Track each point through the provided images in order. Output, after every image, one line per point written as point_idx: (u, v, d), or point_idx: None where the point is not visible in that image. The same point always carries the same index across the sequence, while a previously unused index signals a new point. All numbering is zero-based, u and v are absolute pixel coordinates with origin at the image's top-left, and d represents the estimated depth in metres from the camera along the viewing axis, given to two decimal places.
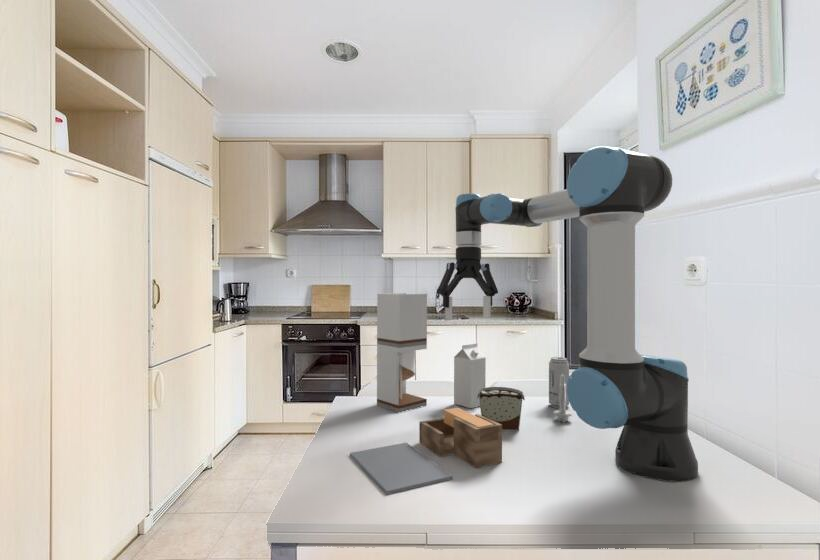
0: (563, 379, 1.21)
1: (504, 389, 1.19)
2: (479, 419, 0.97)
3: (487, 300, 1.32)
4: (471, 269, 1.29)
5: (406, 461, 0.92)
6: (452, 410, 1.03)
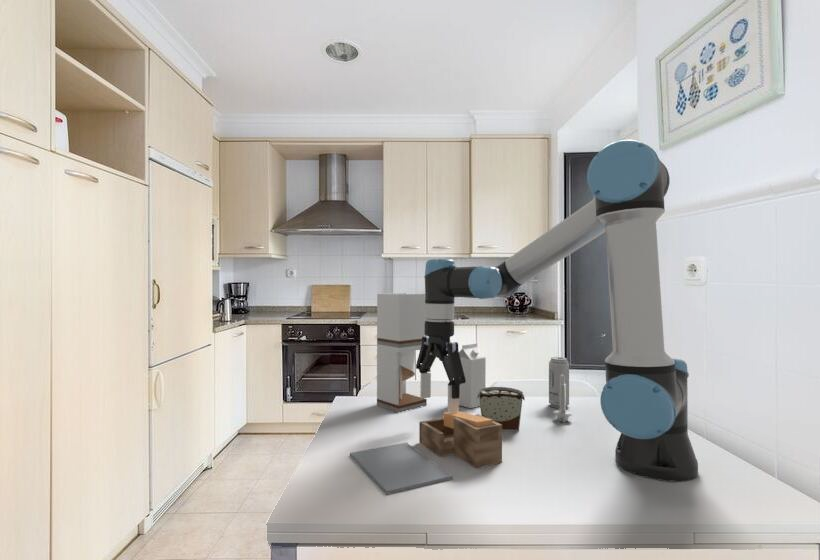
0: (563, 379, 1.21)
1: (504, 389, 1.19)
2: (478, 417, 0.97)
3: None
4: None
5: (406, 461, 0.92)
6: (451, 413, 1.04)
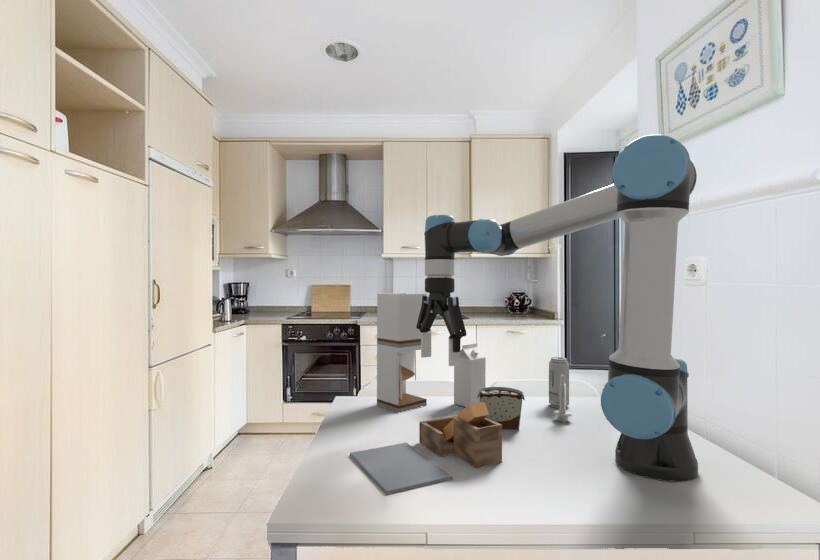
0: (563, 379, 1.21)
1: (504, 389, 1.19)
2: None
3: None
4: None
5: (406, 461, 0.92)
6: None
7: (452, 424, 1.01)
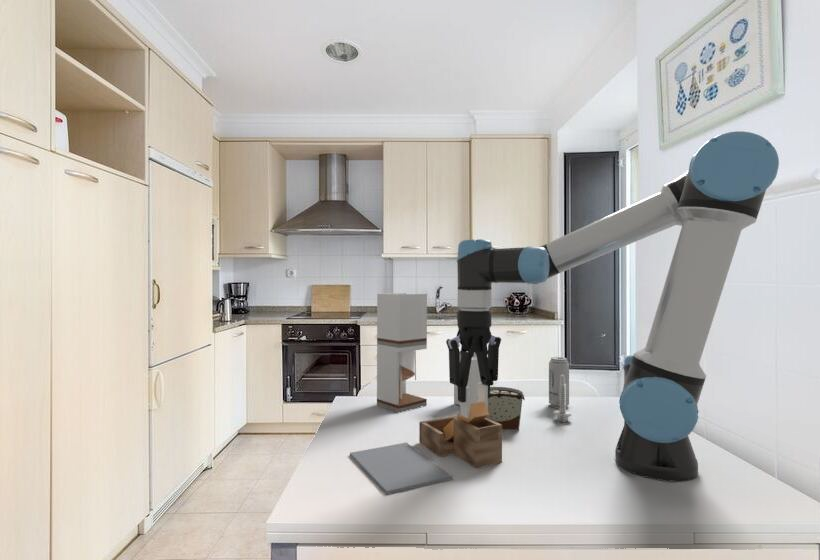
0: (563, 379, 1.21)
1: (504, 389, 1.19)
2: None
3: (483, 391, 0.97)
4: (478, 338, 0.96)
5: (406, 461, 0.92)
6: None
7: (452, 424, 1.01)
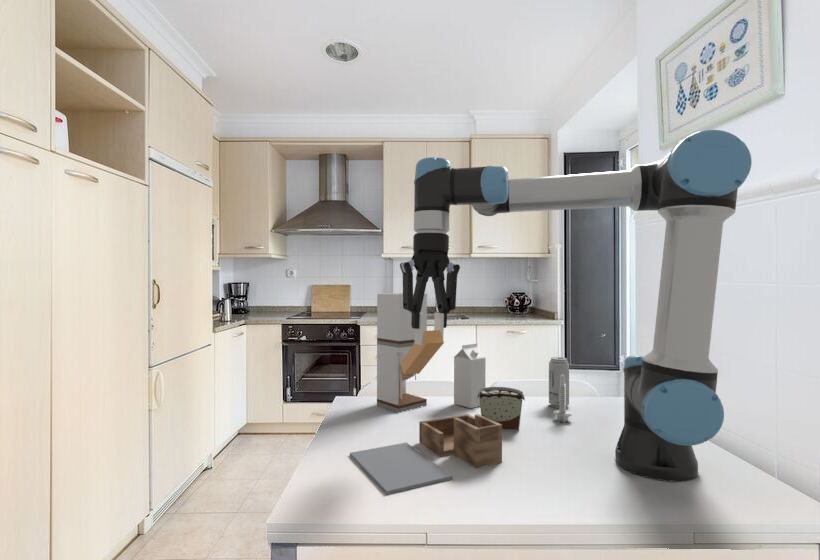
0: (563, 379, 1.21)
1: (504, 389, 1.19)
2: None
3: (439, 319, 0.92)
4: (434, 262, 0.91)
5: (406, 461, 0.92)
6: None
7: (408, 356, 0.96)
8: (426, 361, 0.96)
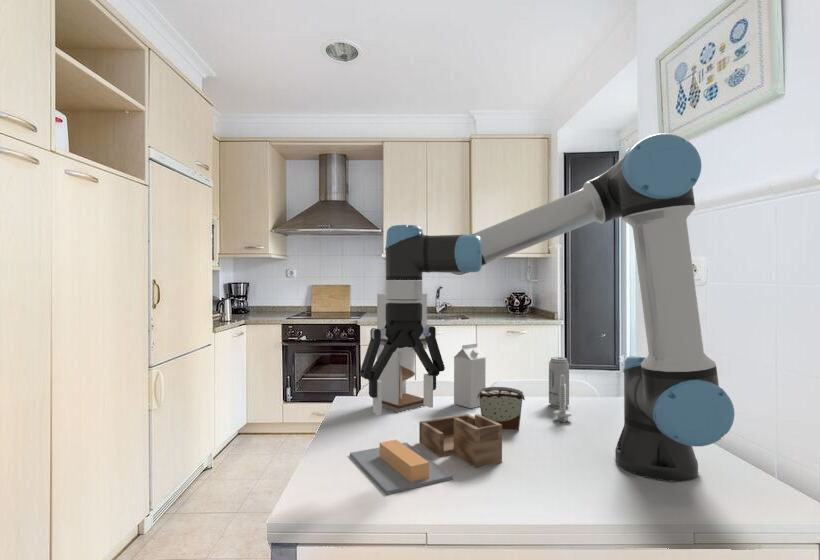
0: (563, 379, 1.21)
1: (504, 389, 1.19)
2: (415, 455, 0.87)
3: (428, 382, 0.90)
4: (407, 334, 0.88)
5: None
6: (388, 444, 0.94)
7: (389, 454, 0.90)
8: None
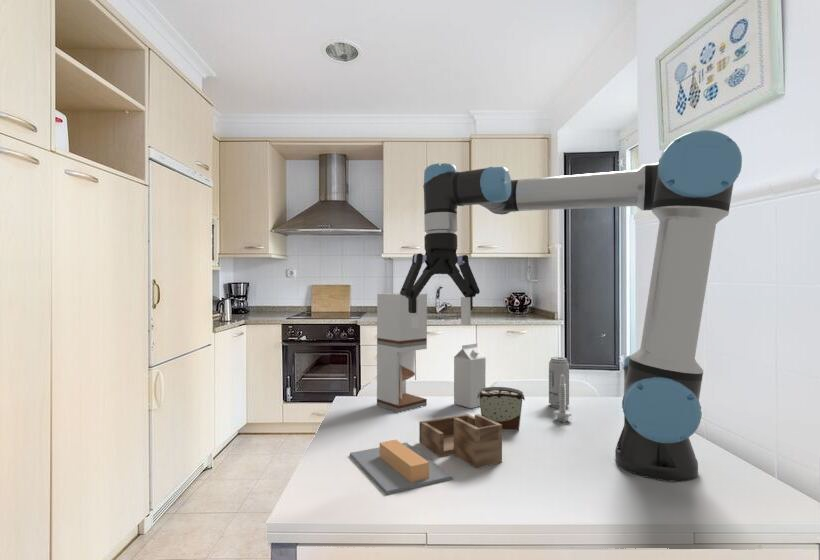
0: (563, 379, 1.21)
1: (504, 389, 1.19)
2: (415, 455, 0.87)
3: (466, 302, 1.02)
4: (445, 262, 0.99)
5: None
6: (388, 444, 0.94)
7: (389, 454, 0.90)
8: None
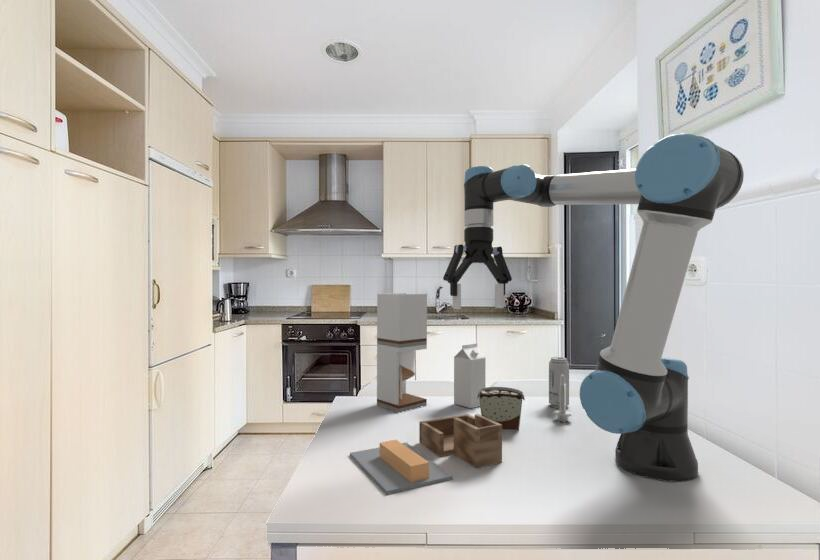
0: (563, 379, 1.21)
1: (504, 389, 1.19)
2: (415, 455, 0.87)
3: (500, 288, 1.16)
4: (482, 252, 1.13)
5: None
6: (388, 444, 0.94)
7: (389, 454, 0.90)
8: None
